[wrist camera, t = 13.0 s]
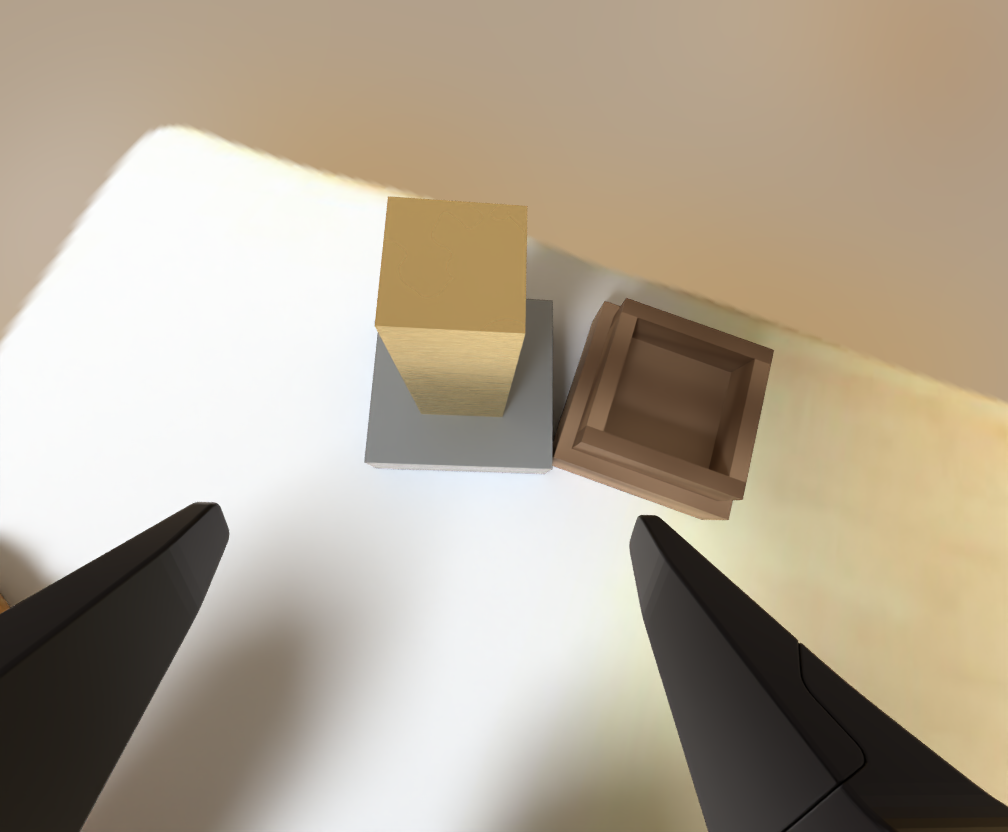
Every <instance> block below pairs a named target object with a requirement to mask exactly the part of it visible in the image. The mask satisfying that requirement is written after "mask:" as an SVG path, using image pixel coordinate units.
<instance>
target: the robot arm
mask: <svg viewBox="0 0 1008 832" xmlns="http://www.w3.org/2000/svg"><path fill="white" fill-rule="evenodd" d="M228 540H229V528H228V526H227V523H226V520H225V518H224V515H223V512H222V510H221V507H220V506H219V505H218V504H217V503H214V502H196V503H193V504H191V505H189V506H187V507H186V508H184V509H182V510H180V511H179V512H177V513H175V514H173V515H172V516H170V517H168V518H166V519H165V520H163V521H161V522H159V523H158V524H156V525H154V526H152V527H151V528H149V529H147V530H146V531H144V532H142V533H140V534H139V535H137V536H135V537H133V538H132V539H130V540H128V541H126V542H125V543H123V544H121V545H119V546H118V547H116V548H114V549H112V550H111V551H109V552H107V553H105V554H104V555H102V556H100V557H98V558H97V559H95V560H93V561H91V562H90V563H88V564H86V565H84V566H83V567H81V568H79V569H77V570H76V571H74V572H72V573H70V574H69V575H67V576H65V577H63V578H62V579H60V580H58V581H56V582H55V583H53V584H51V585H49V586H48V587H46V588H44V589H42V590H41V591H39V592H37V593H35V594H34V595H32V596H30V597H28V598H27V599H25V600H23V601H22V602H20V603H18V604H16V605H15V606H13V607H11V608H9V609H8V610H6V611H4V612H2V613H1V614H0V832H80V830H81V828H82V827H83V825H84V823H85V821H86V819H87V817H88V816H89V814H90V812H91V810H92V808H93V806H94V804H95V803H96V801H97V799H98V797H99V795H100V793H101V791H102V790H103V788H104V786H105V784H106V782H107V780H108V779H109V777H110V775H111V773H112V771H113V769H114V767H115V766H116V764H117V762H118V760H119V758H120V756H121V754H122V753H123V751H124V749H125V747H126V745H127V743H128V742H129V740H130V738H131V736H132V734H133V732H134V730H135V729H136V727H137V725H138V723H139V721H140V719H141V717H142V716H143V714H144V712H145V710H146V708H147V706H148V704H149V703H150V701H151V699H152V697H153V695H154V693H155V692H156V690H157V688H158V686H159V684H160V682H161V680H162V679H163V677H164V675H165V673H166V671H167V669H168V667H169V666H170V664H171V662H172V660H173V658H174V656H175V655H176V653H177V651H178V649H179V647H180V645H181V643H182V642H183V640H184V638H185V636H186V634H187V632H188V630H189V629H190V627H191V625H192V623H193V621H194V619H195V617H196V615H197V613H198V611H199V609H200V607H201V605H202V603H203V601H204V598H205V596H206V594H207V591H208V589H209V586H210V584H211V581H212V579H213V577H214V574H215V572H216V569H217V567H218V565H219V562H220V560H221V557H222V555H223V552H224V550H225V548H226V545H227V543H228ZM629 548H630V555H631V560H632V565H633V571H634V576H635V581H636V586H637V592H638V597H639V602H640V607H641V612H642V616H643V620H644V624H645V627H646V630H647V634H648V637H649V640H650V644H651V647H652V650H653V653H654V657H655V660H656V663H657V666H658V670H659V673H660V676H661V679H662V683H663V686H664V689H665V692H666V696H667V699H668V702H669V705H670V709H671V712H672V715H673V718H674V722H675V725H676V728H677V731H678V735H679V738H680V741H681V744H682V748H683V751H684V754H685V757H686V761H687V764H688V767H689V770H690V774H691V777H692V780H693V783H694V787H695V790H696V793H697V796H698V800H699V803H700V806H701V809H702V813H703V816H704V819H705V822H706V826H707V829H708V832H1008V807H1007V806H1006V805H1004V804H1003V803H1001V802H1000V801H998V800H997V799H995V798H994V797H992V796H991V795H989V794H988V793H987V792H985V791H984V790H983V789H981V788H980V787H979V786H977V785H976V784H975V783H973V782H972V781H971V780H969V779H968V778H967V777H966V776H964V775H963V774H962V773H960V772H959V771H958V770H957V769H955V768H954V767H953V766H952V765H950V764H949V763H948V762H946V761H945V760H944V759H943V758H941V757H940V756H939V755H937V754H936V753H935V752H934V751H932V750H931V749H930V748H929V747H927V746H926V745H925V744H923V743H922V742H921V741H920V740H918V739H917V738H916V737H915V736H913V735H912V734H911V733H909V732H908V731H907V730H906V729H904V728H903V727H902V726H901V725H899V724H898V723H897V722H895V721H894V720H893V719H892V718H890V717H889V716H888V715H887V714H885V713H884V712H883V711H882V710H880V709H879V708H878V707H877V706H875V705H874V704H873V703H872V702H870V701H869V700H868V699H867V698H865V697H864V696H863V695H862V694H860V693H859V692H858V691H857V690H855V689H854V688H853V687H852V686H851V685H849V684H848V683H847V682H846V681H845V680H844V679H842V678H841V677H840V676H839V675H838V674H837V673H835V672H834V671H833V670H832V669H831V668H830V667H828V666H827V665H826V664H825V663H824V662H823V661H821V660H820V659H819V658H818V657H817V656H816V655H815V654H813V653H812V652H811V651H810V650H809V649H808V648H807V647H806V646H804V645H803V644H802V643H798V640H797V639H796V638H795V637H794V636H793V635H792V634H791V633H790V632H788V631H787V630H786V629H785V628H784V627H783V626H782V625H781V624H779V623H778V622H777V621H776V620H775V619H774V618H773V617H771V616H770V615H769V614H768V613H767V612H766V611H765V610H764V609H762V608H761V607H760V606H759V605H758V604H757V603H756V602H755V601H753V600H752V599H751V598H750V597H749V596H748V595H747V594H746V593H744V592H743V591H742V590H741V589H740V588H739V587H738V586H736V585H735V584H734V583H733V582H732V581H731V580H730V579H729V578H727V577H726V576H725V575H724V574H723V573H722V572H721V571H720V570H718V569H717V568H716V567H715V566H714V565H713V564H712V563H711V562H709V561H708V560H707V559H706V558H705V557H704V556H703V555H702V554H700V553H699V552H698V551H697V550H696V549H695V548H694V547H692V546H691V545H690V544H689V543H688V542H687V541H686V540H685V539H683V538H682V537H681V536H680V535H679V534H678V533H677V532H676V531H674V530H673V529H672V528H671V527H670V526H669V525H668V524H667V523H665V522H664V521H663V520H662V519H661V518H660V517H658V516H655V515H640V516H639V517H638V518H637V520H636V523H635V526H634V529H633V532H632V536H631V539H630V544H629Z"/></svg>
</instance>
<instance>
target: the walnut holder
mask: <svg viewBox="0 0 1008 832" xmlns="http://www.w3.org/2000/svg"><path fill="white" fill-rule="evenodd" d="M773 352H774V350H772V349H770V348H767V347H764V346H761V345H758V344H755V343H753V342H750V341H747V340H744V339H741V338H738V337H736V336H733V335H730V334H727V333H724V332H721V331H719V330H716V329H713V328H710V327H707V326H704V325H702V324H699V323H696V322H693V321H690V320H687V319H685V318H682V317H679V316H676V315H673V314H671V313H668V312H665V311H662V310H659V309H656V308H654V307H651V306H648V305H645V304H642V303H639V302H637V301H634V300H631V299H628V298H626V299H625V301H624V302H623V304H622V305H621V306H618V305H615V304H612V303H609V302H606V301H605V302H604V303H603V305H602V307H601V308H600V310H599V312H598V313H597V315H596V317H595V318H594V320H593V322H592V325H591V328H590V331H589V334H588V337H587V340H586V343H585V346H584V349H583V352H582V355H581V358H580V361H579V364H578V367H577V370H576V373H575V376H574V379H573V382H572V385H571V388H570V391H569V394H568V398H567V401H566V404H565V407H564V410H563V413H562V416H561V419H560V422H559V425H558V428H557V431H556V434H555V437H554V440H553V443H552V466H555V467H558V468H560V469H563V470H566V471H569V472H571V473H574V474H577V475H580V476H583V477H585V478H588V479H591V480H594V481H596V482H599V483H602V484H605V485H607V486H610V487H613V488H616V489H619V490H621V491H624V492H627V493H630V494H632V495H635V496H638V497H641V498H644V499H646V500H649V501H652V502H655V503H657V504H660V505H663V506H666V507H668V508H671V509H674V510H677V511H680V512H682V513H685V514H688V515H691V516H693V517H696V518H699V519H702V520H729V515H730V511H731V506H732V501H733V500H743V496H744V491H745V486H746V481H747V477H748V472H749V467H750V462H751V457H752V453H753V448H754V443H755V438H756V433H757V429H758V424H759V419H760V414H761V410H762V405H763V400H764V395H765V390H766V386H767V381H768V376H769V371H770V366H771V362H772V357H773Z"/></svg>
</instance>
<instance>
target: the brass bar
mask: <svg viewBox="0 0 1008 832" xmlns="http://www.w3.org/2000/svg"><path fill="white" fill-rule="evenodd" d="M526 257H527V206H519V205H504V204H490V203H475V202H461V201H446V200H431V199H417V198H402V197H388V202H387V212H386V222H385V231H384V241H383V251H382V261H381V270H380V280H379V290H378V299H377V309H376V319H375V327H376V329H377V331H378V333H379V335H380V337H381V339H382V341H383V342H384V344H385V346H386V348H387V350H388V352H389V354H390V356H391V358H392V360H393V361H394V363H395V365H396V367H397V369H398V371H399V373H400V375H401V377H402V379H403V380H404V382H405V384H406V386H407V388H408V390H409V392H410V394H411V396H412V398H413V399H414V401H415V403H416V405H417V407H418V409H419V411H420V413H421V414H434V415H459V416H484V417H503V413H504V410H505V406H506V402H507V399H508V395H509V391H510V388H511V384H512V380H513V377H514V373H515V370H516V366H517V362H518V359H519V355H520V351H521V348H522V344H523V340H524V337H525V322H526Z"/></svg>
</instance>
